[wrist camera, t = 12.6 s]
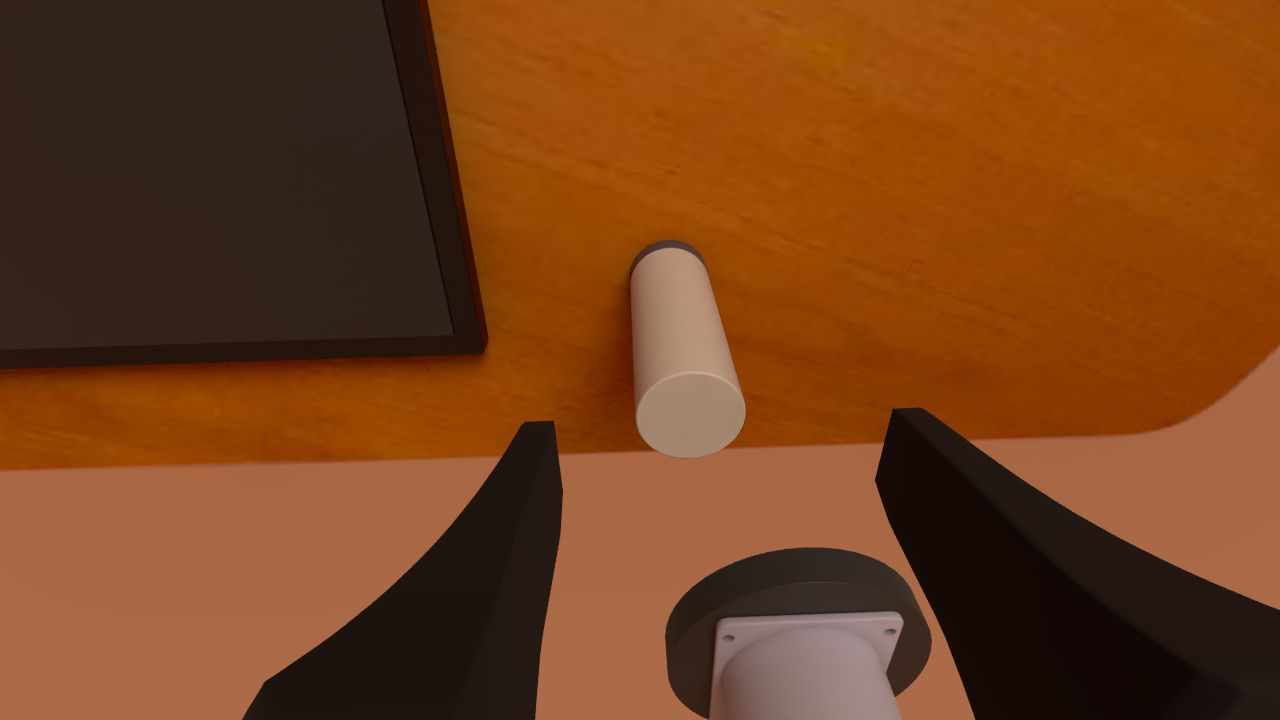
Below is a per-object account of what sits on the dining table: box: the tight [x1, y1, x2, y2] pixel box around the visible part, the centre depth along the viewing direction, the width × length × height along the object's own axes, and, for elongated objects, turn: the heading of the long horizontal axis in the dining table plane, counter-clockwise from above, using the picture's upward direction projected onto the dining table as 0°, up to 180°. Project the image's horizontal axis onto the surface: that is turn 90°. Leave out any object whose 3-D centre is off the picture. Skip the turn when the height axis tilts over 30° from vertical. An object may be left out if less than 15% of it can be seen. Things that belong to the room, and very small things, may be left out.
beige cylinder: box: [630, 240, 746, 459], centre depth 16 cm, size 2×2×7 cm
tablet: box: [0, 0, 489, 369], centre depth 16 cm, size 14×20×1 cm
